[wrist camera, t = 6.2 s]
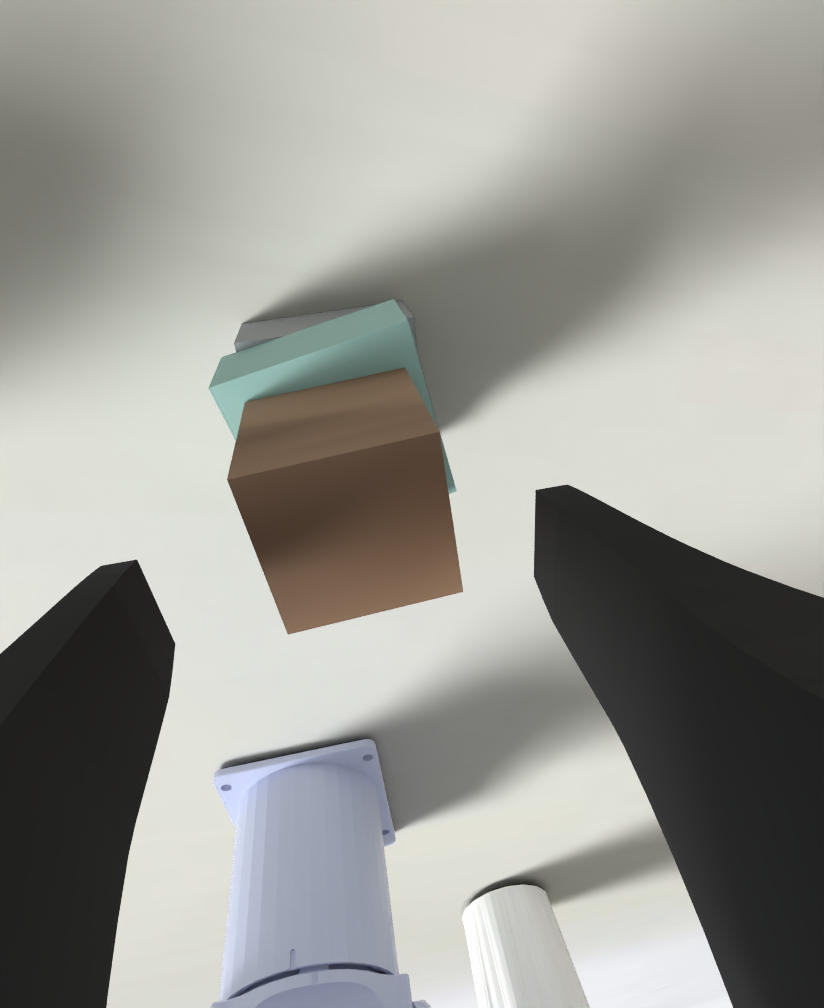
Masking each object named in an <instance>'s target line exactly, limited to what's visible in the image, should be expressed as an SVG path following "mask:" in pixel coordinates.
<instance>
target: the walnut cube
mask: <svg viewBox="0 0 824 1008" xmlns="http://www.w3.org/2000/svg"><path fill="white" fill-rule="evenodd" d="M227 480H228V483H229V485H230V488H231V490H232V493H233V496H234V498H235V501H236V503H237V506H238V508H239V511H240V513H241V516H242V519H243V521H244V524H245V526H246V529H247V531H248V534H249V536H250V539H251V541H252V544H253V547H254V549H255V552H256V554H257V557H258V559H259V562H260V564H261V567H262V569H263V572H264V575H265V577H266V580H267V582H268V585H269V587H270V590H271V592H272V595H273V597H274V600H275V603H276V605H277V608H278V610H279V613H280V615H281V618H282V620H283V623H284V626H285V628H286V631H287V633H288V634H292V633H296V632H300V631H304V630H308V629H312V628H316V627H321V626H325V625H329V624H333V623H337V622H341V621H345V620H349V619H353V618H357V617H361V616H366V615H370V614H374V613H378V612H382V611H386V610H390V609H394V608H398V607H402V606H407V605H411V604H415V603H419V602H423V601H427V600H431V599H435V598H439V597H443V596H448V595H452V594H456V593H460V592H463V588H462V581H461V574H460V567H459V561H458V554H457V547H456V540H455V534H454V527H453V520H452V513H451V507H450V500H449V493H448V486H447V480H446V473H445V466H444V459H443V453H442V446H441V439H440V432H439V430H438V428H437V426H436V425H435V423H434V421H433V419H432V417H431V415H430V413H429V411H428V410H427V408H426V406H425V404H424V402H423V400H422V398H421V396H420V395H419V393H418V391H417V389H416V387H415V385H414V383H413V381H412V380H411V378H410V376H409V374H408V372H407V370H406V368H400V369H395V370H391V371H386V372H381V373H377V374H372V375H367V376H363V377H358V378H353V379H349V380H344V381H340V382H335V383H330V384H326V385H321V386H317V387H312V388H307V389H303V390H298V391H294V392H289V393H284V394H280V395H275V396H270V397H266V398H261V399H257V400H252V401H247V402H245V403H244V408H243V412H242V417H241V421H240V426H239V430H238V434H237V439H236V443H235V448H234V452H233V456H232V461H231V465H230V470H229V474H228V479H227Z"/></svg>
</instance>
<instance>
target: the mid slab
mask: <svg viewBox="0 0 824 1008" xmlns="http://www.w3.org/2000/svg"><path fill="white" fill-rule="evenodd" d="M400 368H406V370H407V372H408V374H409V376H410V378H411V380H412V381H413V383H414V385H415V387H416V389H417V391H418V393H419V395H420V396H421V398H422V400H423V402H424V404H425V406H426V408H427V410H428V411H429V413H430V415H431V417H432V419H433V421H434V423H435V425H436V426H437V428H438V424H437V421H436V417H435V414H434V410H433V407H432V403H431V400H430V396H429V393H428V389H427V386H426V382H425V379H424V375H423V372H422V368H421V365H420V361H419V358H418V354H417V351H416V347H415V344H414V340H413V337H412V333H411V330H410V326H409V323H408V320H407V318H406V317H405V315H404V314H403V312H402V311H401V309H400V308H399V306H398V305H397V303H396V302H395V300H394V299H392V300H389V301H386V302H383V303H380V304H377V305H374V306H371V307H368V308H365V309H362V310H359V311H356V312H353V313H351V314H348V315H345V316H342V317H339V318H336V319H333V320H330V321H327V322H324V323H321V324H318V325H315V326H312V327H309V328H306V329H303V330H301V331H298V332H295V333H292V334H289V335H286V336H283V337H280V338H277V339H274V340H271V341H268V342H265V343H262V344H260V345H257V346H254V347H251V348H248V349H245V350H242V351H239V352H236V353H233V354H230V355H227V356H224V357H222V358H221V360H220V362H219V365H218V367H217V370H216V372H215V374H214V377H213V379H212V381H211V384H210V386H209V390H210V392H211V393H212V395H213V397H214V399H215V401H216V403H217V405H218V407H219V409H220V411H221V413H222V415H223V417H224V419H225V421H226V423H227V424H228V426H229V428H230V430H231V432H232V434H233V436H234V438H235V440H236V439H237V434H238V430H239V426H240V421H241V417H242V412H243V408H244V403H245V402H247V401H252V400H257V399H261V398H266V397H270V396H275V395H280V394H284V393H289V392H294V391H298V390H303V389H307V388H312V387H317V386H321V385H326V384H330V383H335V382H340V381H344V380H349V379H353V378H358V377H363V376H367V375H372V374H377V373H381V372H386V371H391V370H395V369H400ZM438 430H439V428H438ZM439 432H440V431H439ZM440 439H441V446H442V453H443V459H444V466H445V473H446V480H447V486H448V493H449V494H450V493H453V492H456V487H455V484H454V480H453V477H452V473H451V470H450V466H449V463H448V459H447V456H446V452H445V449H444V445H443V442H442V438H441V435H440Z"/></svg>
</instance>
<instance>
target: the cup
mask: <svg viewBox="0 0 824 1008" xmlns="http://www.w3.org/2000/svg"><path fill="white" fill-rule="evenodd" d="M462 920H463V922H464V927H465V932H466V938H467V943H468V949H469V954H470V960H471V966H472V971H473V977H474V983H475V988H476V994H477V1000H478V1005H479V1008H590V1007H589V1004H588V1002H587V999H586V996H585V994H584V991H583V988H582V986H581V983H580V981H579V978H578V975H577V973H576V970H575V967H574V965H573V962H572V960H571V957H570V954H569V952H568V949H567V946H566V944H565V941H564V938H563V936H562V933H561V931H560V928H559V925H558V923H557V920H556V917H555V915H554V912H553V909H552V907H551V904H550V902H549V899H548V896H547V894H546V891H544V890H543V889H541V888H539V887H537V886H532V885H524V884H522V885H514V886H506V887H503V888H500V889H497V890H494V891H490V892H488V893H486V894H484V895H483V896H481V897H479V898H477V899H475V900H474V901H473V902H472V903H471V904H470V905H469V906H468V907H467V908H466V909H465V911H464V914H463V916H462Z"/></svg>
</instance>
